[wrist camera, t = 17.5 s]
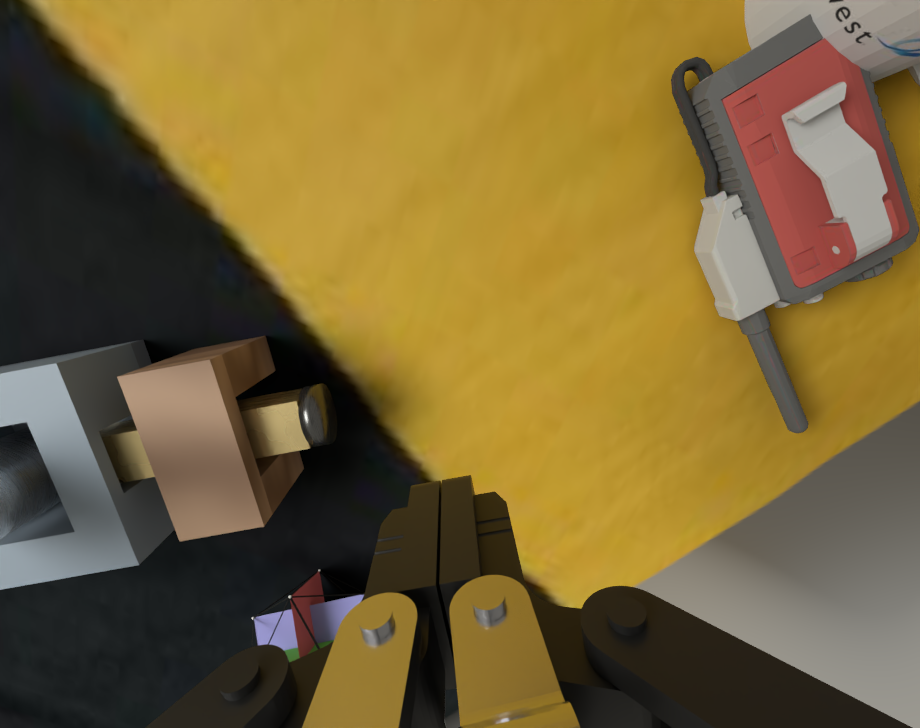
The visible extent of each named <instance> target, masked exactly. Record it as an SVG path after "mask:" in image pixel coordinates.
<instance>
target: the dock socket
mask: <svg viewBox="0 0 920 728" xmlns="http://www.w3.org/2000/svg"><path fill="white" fill-rule="evenodd" d="M151 364H152V363H151V360H150V357H149V354H148V352H147V349H146V346H145V343H144V340H139V341H134V342H128V343H123V344H118V345H112V346H107V347H102V348H96V349H91V350H86V351H80V352H75V353H70V354H65V355H59V356H54V357H49V358H43V359H38V360H33V361H27V362H22V363H17V364H11V365H6V366H1V367H0V438H2V437H5V436H7V435H10V434H12V433H15V432H17V431H20V430H22V429H25V428H27V427H29V429H30V431H31V433H32V436H33V438H34V440H35V442H36V445H37V447H38V449H39V452H40V454H41V456H42V458H43V461H44V463H45V465H46V467H47V470H48V472H49V474H50V477H51V479H52V481H53V483H54V486H55V488H56V490H57V492H58V495H59V497H60V499H61V502H59V503H58V504H56V505H55V506H53V507H51V508H50V509H48V510H47V511H45V512H43V513H42V514H40V515H39V516H37V517H36V518H34V519H32V520H31V521H29V522H28V523H26V524H24V525H23V526H21V527H20V528H18V529H16V530H15V531H13V532H12V533H10V534H9V535H7V536H5V537H4V538H2V539H1V540H0V590H1V589H6V588H12V587H18V586H23V585H29V584H35V583H40V582H46V581H51V580H57V579H63V578H68V577H74V576H80V575H85V574H91V573H97V572H102V571H108V570H113V569H119V568H125V567H130V566H136V565H139V564H140V563H141V562H142V561H143V560H144V559H145V558H147V557H148V556H149V555H150V554H151V553H152V552H153V551H154V550H155V549H156V548H157V547H158V546H159V545H160V544H161V543H162V542H163V541H164V540H165V539H166V538H167V537H168V536H169V535H170V534H171V533H172V532H173V531H174V530H175V528H174V526H173V523H172V520H171V518H170V515H169V512H168V510H167V507H166V505H165V502H164V499H163V497H162V494H161V491H160V489H159V486H158V483H157V481H156V478H155V477H151V478H146V479H140V480H135V481H129V482H123V483H119V480H118V478H117V475H116V473H115V470H114V468H113V465H112V463H111V460H110V458H109V455H108V453H107V450H106V448H105V445H104V443H103V440H102V438H101V436H100V433H99V431H100V430H102V429H104V428H106V427H108V426H110V425H112V424H114V423H117V422H122V421H128V420H133V418H132V415H131V412H130V410H129V407H128V404H127V402H126V399H125V397H124V394H123V391H122V389H121V386H120V383H119V381H118V378H117V377H118V376H121V375H124V374H126V373H129V372H132V371H135V370H137V369H140V368H143V367H146V366H149V365H151Z"/></svg>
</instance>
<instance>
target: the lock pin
mask: <svg viewBox="0 0 920 728" xmlns="http://www.w3.org/2000/svg"><path fill="white" fill-rule="evenodd" d="M236 401H237V404H238V407H239V410H240V414H241V417H242V420H243V423H244V426H245V429H246V432H247V436H248V439H249V442H250V445H251V448H252V451H253V454H254V458H255V459H256V458H261V457H267V456H272V455H278V454H283V453H289V452H294V451H300V450H305V449H310V448H311V446H313V447H316V446H322V445H327V444H332V443H333V442H334V441H335V439H336V435H337V414H336V408H335V404H334V400H333V397H332V395H331V393H330V391H329V389H328V388H327V386H326V385H325V384H316V385H311V386H305V387H303V388H301V389H296V390H291V391H285V392H280V393H274V394H269V395H263V396H258V397H253V398H247V399H242V400H236ZM99 433H100V436H101V438H102V440H103V443H104V445H105V448H106V450H107V453H108V455H109V458H110V460H111V463H112V465H113V468H114V470H115V473H116V475H117V478H118V480H119V483H123V482H129V481H135V480H140V479H146V478H151V477H155V476H154V473H153V470H152V468H151V465H150V462H149V460H148V457H147V454H146V452H145V449H144V447H143V444H142V441H141V439H140V436H139V433H138V431H137V428H136V426H135V423H134V420H128V421H122V422H117V423H114V424H112V425H110V426H108V427H106V428H104V429H102V430H100V431H99Z"/></svg>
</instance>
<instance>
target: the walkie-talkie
mask: <svg viewBox="0 0 920 728" xmlns="http://www.w3.org/2000/svg"><path fill="white" fill-rule="evenodd" d="M822 38H823V36H822V35H821V33H820V32H819V30H818V28H817V27H816V25H815V23H814V22H813V19H812V16H811V14H809V15H808V16H806V17H804V18H803V19H801V20H800V21H798V22H796V23H795V24H793V25H791V26H790V27H788V28H787V29H785V30H783V31H782V32H780V33H778V34H777V35H775V36H773V37H772V38H770V39H769V40H767V41H765V42H764V43H762V44H760V45H759V46H757V47H756V48H754V49H752V50H751V51H749V52H747V53H746V54H744V55H743V56H741V57H739V58H738V59H736V60H734V61H733V62H731V63H730V64H728V65H726V66H725V67H723V68H722V69H720V70H718V71H717V72H715V73H714V74H713V72H712V70H711V68H710V65H709V64H708V63H707V62H706V61H705V60H704V59H701V58H699V57H695V58H692V59H689V60H686V61H684V62H683V63H682V64H680V65H679V66H678V67H677V68H676V69H675V71H674V73H673V75H672V79H671V83H672V94H673V96H674V99H675V101H676V104H677V106H678V108H679V111H680V114H681V116H682V118H683V123H684V125H686V128H687V130H688V135H690V137H691V140H692V144H693V145H694V147H695V149H696V154H697V156H698V157H699V159H700V161H701V162H700V164H701V166H703V169H704V174H705V186H704V188H705V193H706V197H705V198H703V199H701V200H700V201H701V203H702V205H703V208H704V210H703V214H702V218H701V222H700V226H699V230H698V234H697V238H696V242H695V246H694V252H695V254H696V256H697V258H698V261H699V263H700V265H701V268H702V270H703V272H704V274H705V277H706V279H707V281H708V284H709V286H710V288H711V290H712V293H713V295H714V297H715V303H714V305H715V307H716V309H717V312H718V314H719V316H721V317H725V318H728V319H731V320H735V321H737V322H738V324H739V326H740V329H741V331H742V333H743V334H745V335H747V337H748V339H749V342H750V344H751V346H752V349H753V351H754V353H755V356H756V358H757V360H758V363H759V365H760V367H761V370H762V372H763V374H764V377H765V379H766V381H767V384H768V386H769V388H770V390H771V392H772V394H773V396H774V398H775V400H776V403H777V405H778V407H779V410H780V412H781V414H782V416H783V419H784V421H785V423H786V426H787V428H788V430H789V431H791V432H794V433H801V432H804V431H805V430H806V429H807V428H808V421H807V419H806V416H805V414H804V412H803V409H802V407H801V404H800V402H799V399H798V397H797V395H796V392H795V390H794V387H793V385H792V383H791V380H790V378H789V375H788V373H787V370H786V368H785V366H784V363H783V361H782V358H781V356H780V353H779V351H778V349H777V346H776V344H775V341H774V339H773V337H772V334H771V332H770V329H769V326H770V322H769V320H768V317H767V315H766V313H765V310H764V308H765V307H767V306H769V305H771V304H774V306H775V307H776V308H782V307H785V306H788V305H790V304H796V303H799V302H802V301H803V302H804V303H806V304H809V303H815V302H817V301H820V300H821V299H823V297H824V296H823V292H825V291H827V290H829V289H831V288H833V287H835V286H836V285H838V284H840V283H842V282H844V281H846V282H856V281H861V280H865V279H868V278H872V277H875V276H878V275H880V274H882V273H884V272H885V271H887V270H888V269H889V268H890V267H891V266H892V264H893V261H892V258H891V257H892V256H894V255H896V254H898V253H900V252H902V251H904V250H906V249H907V248H909V247H910V246H911V245H912V244H913V243H914V242H915V241H916V238H917V235H918V232H919V227H918V224H917V221H916V218H915V215H914V211H913V208H912V205H911V202H910V198H909V195H908V192H907V189H906V186H905V182H904V179H903V176H902V173H901V170H900V166H899V163H898V160H897V157H896V153H895V150H894V147H893V144H892V142H891V143H890V140H889V131H887V130H886V127H885V123H886V122H885V119H883V117H882V114H881V111H882V109H881V107H879V104H878V101H877V100H878V96H877V95H875V91H874V83H872V82H871V79H870V74H871V73H870V71H866V70H864V69H862V68H860V66H858V65H856V64H854V63H852V62H851V61H850V60H849V59H847V58H846V57H845V56H844V55H842V54H841V53H839V52H838V51H837V50H836V49H835V48H834V47H833V46H832V45H831V44H830V43H829V42H828V41H827V40H826V39H825V38H824V39H822ZM821 39H822V40H821ZM819 40H820V41H819ZM818 41H819V42H818ZM816 42H817V43H816ZM689 70H691V71H693V72H694V73H695V74H696V75H697V76H698V78H699V80H700V83H698V85H696V86H695V87H693V88H692V89H690V90H689V91H687V90H686V88H685V83H684V75H685V72H686V71H689Z"/></svg>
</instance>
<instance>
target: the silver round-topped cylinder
mask: <svg viewBox="0 0 920 728" xmlns="http://www.w3.org/2000/svg"><path fill="white" fill-rule="evenodd" d="M59 502H61V499H60V497H59V495H58V492H57V490H56V488H55V486H54V483H53V481H52V479H51V477H50V474H49V472H48V470H47V467H46V465H45V463H44V461H43V458H42V456H41V454H40V452H39V449H38V447H37V445H36V442H35V440H34V438H33V436H32V433H31V431H30V429H29V427H27V428H25V429H22V430H20V431H17V432H15V433H12V434H10V435H7V436H5V437H2V438H0V540H1V539H2V538H4V537H5V536H7V535H9V534H10V533H12V532H13V531H15V530H16V529H18V528H20V527H21V526H23V525H24V524H26V523H28V522H29V521H31V520H32V519H34V518H36V517H37V516H39V515H40V514H42V513H43V512H45V511H47V510H48V509H50V508H51V507H53V506H55V505H56V504H58V503H59Z"/></svg>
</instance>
